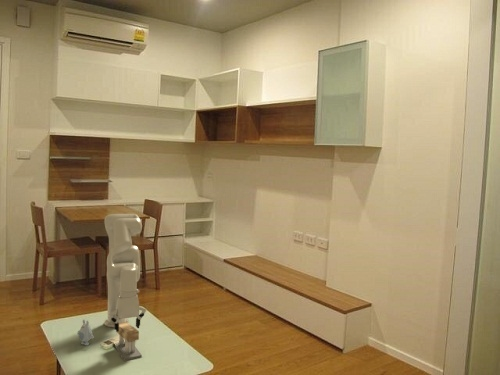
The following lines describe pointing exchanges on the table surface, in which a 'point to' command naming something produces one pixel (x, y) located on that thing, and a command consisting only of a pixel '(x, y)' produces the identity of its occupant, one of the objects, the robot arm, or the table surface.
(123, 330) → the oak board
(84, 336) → the toy figure
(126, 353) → the peg stand
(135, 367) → the table surface
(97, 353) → the table surface
